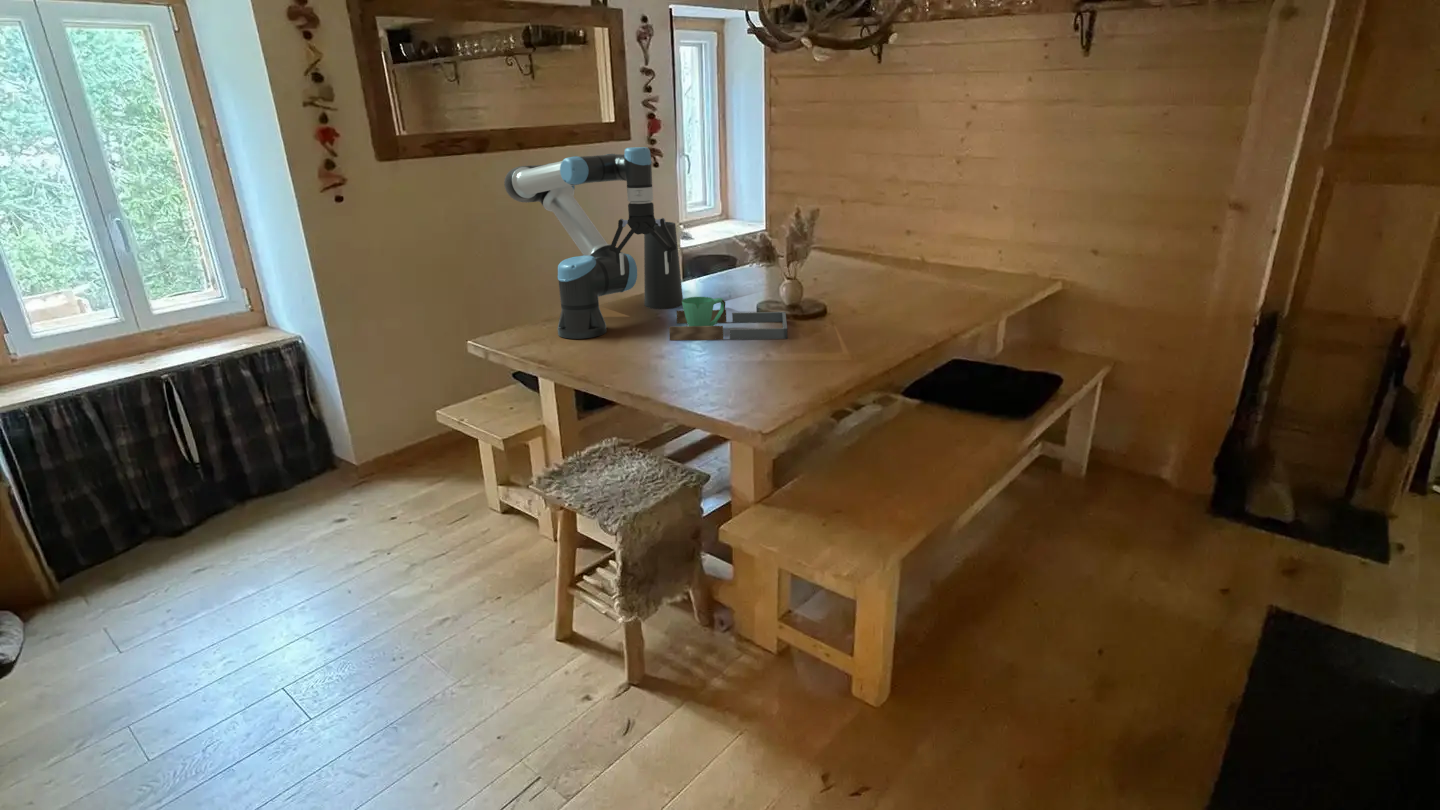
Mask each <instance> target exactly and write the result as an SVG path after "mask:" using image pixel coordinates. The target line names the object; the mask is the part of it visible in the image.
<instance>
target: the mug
mask: <svg viewBox="0 0 1440 810" xmlns="http://www.w3.org/2000/svg"><path fill="white" fill-rule="evenodd" d="M718 303H720V308H719V309H718V310H719V312H718V314H717V315H716V317H715V319H714V320H713V321H711V317H712V311H713V310H714V305H716V304H718ZM681 306H682V309H683V310H684V313H685V317H686V320H687V323H686V324H687V326H716V324H718V321H719V320H720V319H721V317H722V316H723V314H724V313H725V310H726V301H725V300H724V299H723V298H722V297H717V298H712V297H708V296H692V297H686V298H683V300H682V305H681ZM710 321H711V322H710Z"/></svg>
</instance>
